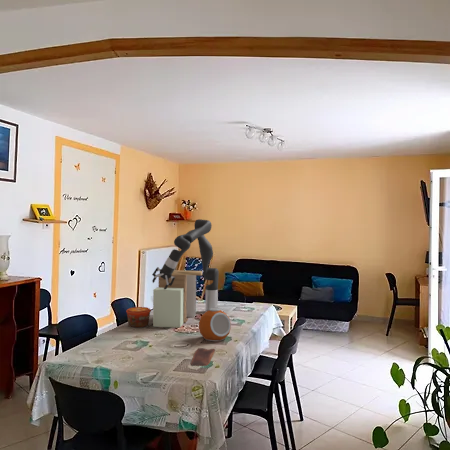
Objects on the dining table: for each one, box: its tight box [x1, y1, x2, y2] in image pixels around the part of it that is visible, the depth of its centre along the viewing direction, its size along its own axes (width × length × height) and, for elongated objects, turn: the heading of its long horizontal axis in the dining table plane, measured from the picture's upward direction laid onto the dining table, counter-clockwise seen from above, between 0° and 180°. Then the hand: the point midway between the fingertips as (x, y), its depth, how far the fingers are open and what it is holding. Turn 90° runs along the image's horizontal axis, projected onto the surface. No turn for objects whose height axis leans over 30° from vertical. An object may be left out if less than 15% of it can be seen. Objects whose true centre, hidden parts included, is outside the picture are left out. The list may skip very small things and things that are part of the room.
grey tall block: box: [186, 275, 197, 318], centre depth 307 cm, size 14×6×30 cm, turn 84°
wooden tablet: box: [190, 347, 216, 367], centre depth 217 cm, size 26×2×10 cm
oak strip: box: [172, 269, 203, 276], centre depth 291 cm, size 4×28×2 cm, turn 84°
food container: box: [125, 306, 152, 329], centre depth 279 cm, size 16×16×11 cm
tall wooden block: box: [158, 275, 189, 324], centre depth 292 cm, size 9×20×32 cm, turn 84°
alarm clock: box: [198, 308, 232, 342], centre depth 251 cm, size 19×18×17 cm
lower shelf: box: [152, 286, 184, 328], centre depth 280 cm, size 9×18×24 cm, turn 84°
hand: (158, 285), depth 278 cm, fingers open, 8 cm apart
